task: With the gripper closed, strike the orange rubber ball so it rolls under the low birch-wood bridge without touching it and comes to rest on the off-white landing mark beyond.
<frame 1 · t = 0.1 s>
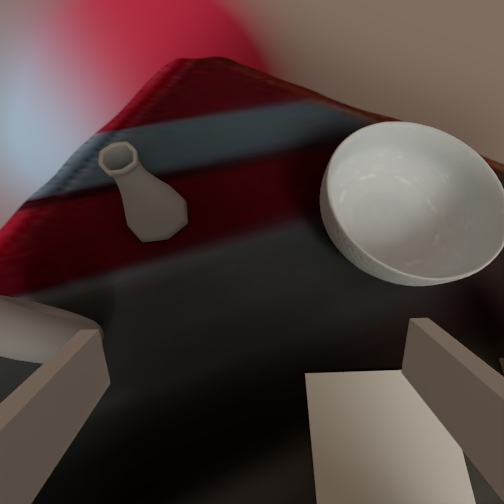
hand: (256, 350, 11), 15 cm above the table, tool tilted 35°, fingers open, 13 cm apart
donut: (77, 332, 26), on the table
flask: (159, 215, 31), on the table
cereal bowl: (380, 224, 30), on the table
landing mark: (386, 452, 23), on the table
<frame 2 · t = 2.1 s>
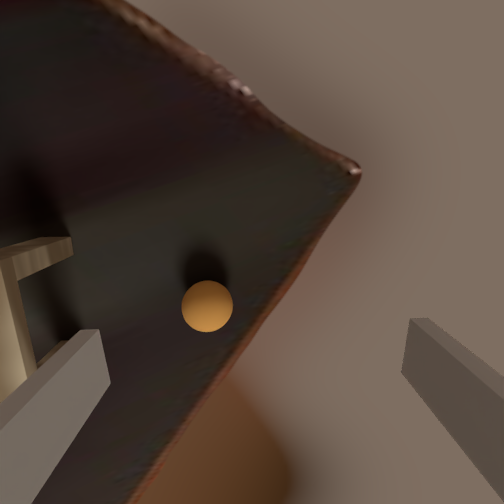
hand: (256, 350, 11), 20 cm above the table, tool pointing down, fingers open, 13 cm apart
bridge: (67, 299, 30), on the table
ball: (207, 305, 29), on the table
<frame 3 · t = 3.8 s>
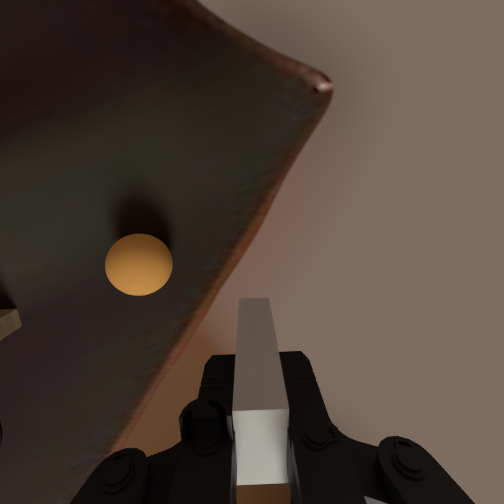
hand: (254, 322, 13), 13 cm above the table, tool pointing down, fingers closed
ball: (140, 264, 23), on the table
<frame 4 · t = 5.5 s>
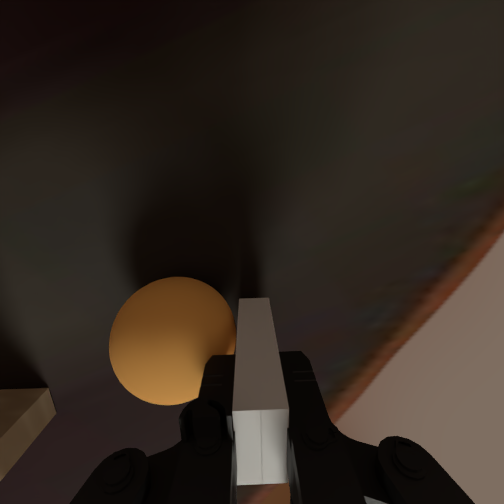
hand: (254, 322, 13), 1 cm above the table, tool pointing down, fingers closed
ball: (176, 336, 12), on the table
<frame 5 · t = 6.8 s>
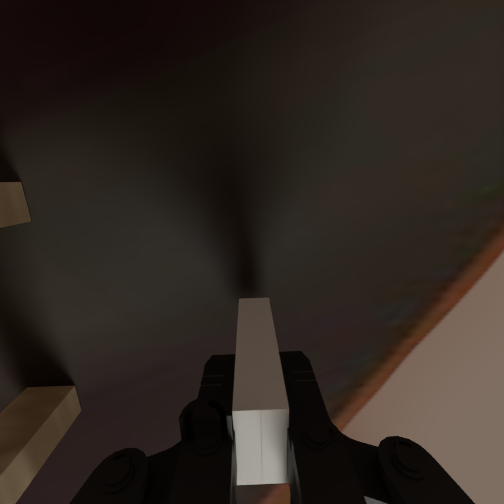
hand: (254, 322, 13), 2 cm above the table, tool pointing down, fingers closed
bridge: (29, 312, 15), on the table
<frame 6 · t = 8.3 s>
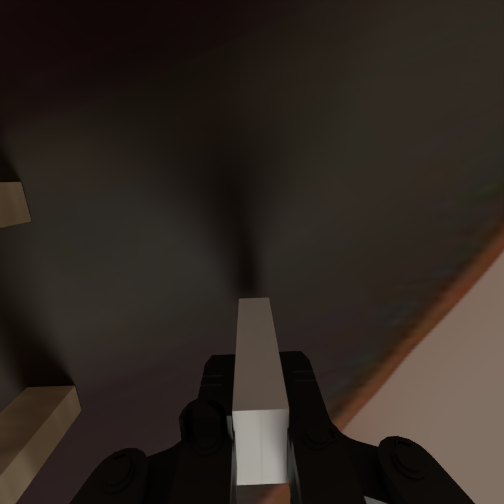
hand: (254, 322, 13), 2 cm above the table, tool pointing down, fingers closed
bridge: (29, 312, 15), on the table
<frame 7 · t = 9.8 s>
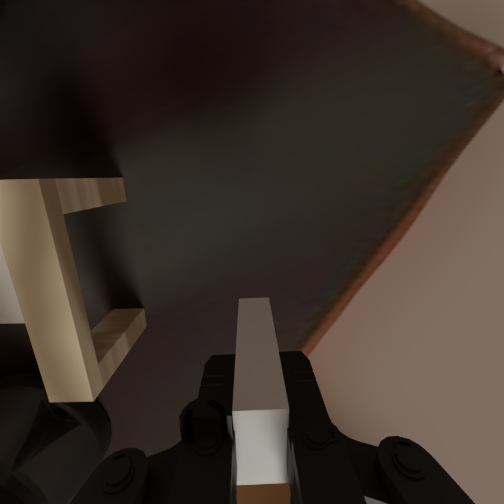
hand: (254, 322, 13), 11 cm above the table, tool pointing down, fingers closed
bridge: (119, 258, 24), on the table
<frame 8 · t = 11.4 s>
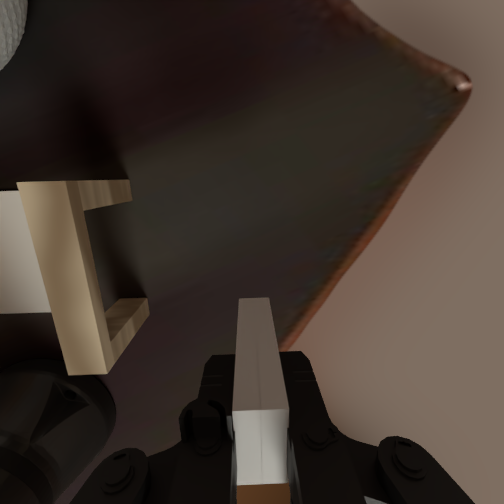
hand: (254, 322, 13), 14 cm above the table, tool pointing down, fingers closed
bridge: (125, 252, 27), on the table
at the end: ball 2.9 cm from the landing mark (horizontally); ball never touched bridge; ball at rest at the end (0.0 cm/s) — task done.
